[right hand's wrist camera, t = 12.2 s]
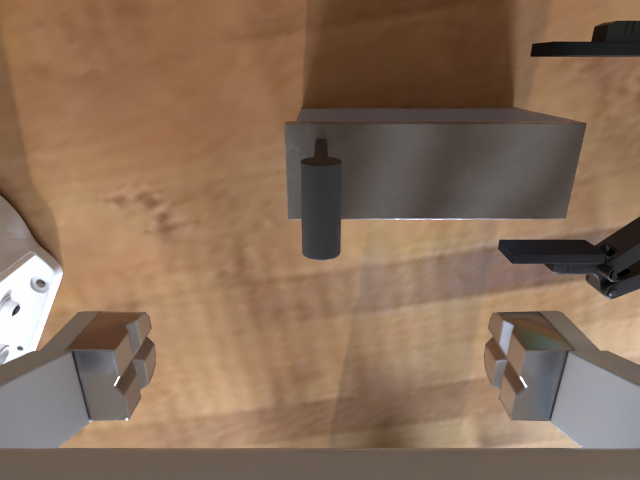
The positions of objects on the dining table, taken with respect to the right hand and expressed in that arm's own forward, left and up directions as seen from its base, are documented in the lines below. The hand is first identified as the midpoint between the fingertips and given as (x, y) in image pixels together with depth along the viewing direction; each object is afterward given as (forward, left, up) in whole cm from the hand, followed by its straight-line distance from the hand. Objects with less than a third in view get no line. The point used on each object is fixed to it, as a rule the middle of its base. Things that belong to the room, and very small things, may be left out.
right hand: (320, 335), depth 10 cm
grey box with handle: (+2, -6, -18) cm, 19 cm away
